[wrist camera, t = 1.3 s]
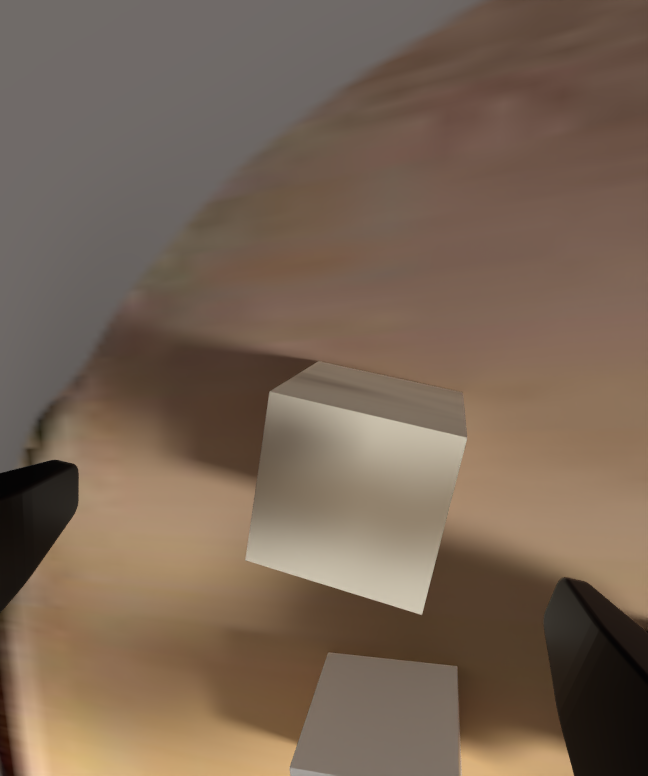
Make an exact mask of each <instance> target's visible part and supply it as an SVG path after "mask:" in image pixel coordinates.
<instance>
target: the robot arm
mask: <svg viewBox="0 0 648 776" xmlns="http://www.w3.org/2000/svg"><path fill="white" fill-rule="evenodd" d="M78 484H79V473H78V468H77V466H76V465H75V464H72V463H68V462H64V461H59V460H51V461H47V462H43V463H39V464H35V465H31V466H27V467H23V468H19V469H15V470H11V471H7V472H3V473H0V613H1V612H2V610H3V609H4V608H5V607H6V606H7V605H8V603H9V602H10V601H11V600H12V599H13V598H14V596H15V595H16V594H17V593H18V592H19V590H20V589H21V588H22V587H23V586H24V584H25V583H26V582H27V581H28V579H29V578H30V577H31V575H32V574H33V573H34V571H35V570H36V568H37V567H38V565H39V564H40V563H41V561H42V560H43V558H44V557H45V555H46V554H47V553H48V551H49V550H50V548H51V547H52V545H53V544H54V543H55V541H56V540H57V538H58V537H59V535H60V534H61V533H62V531H63V530H64V528H65V527H66V525H67V524H68V523H69V521H70V520H71V518H72V517H73V515H74V514H75V512H76V509H77V506H78ZM544 631H545V638H546V644H547V650H548V656H549V663H550V669H551V675H552V681H553V688H554V694H555V700H556V705H557V710H558V715H559V719H560V724H561V728H562V732H563V735H564V739H565V743H566V747H567V750H568V754H569V758H570V762H571V765H572V769H573V773H574V776H648V632H646V631H645V630H644V629H642V628H641V627H640V626H639V625H638V624H636V623H635V622H634V621H633V620H632V619H630V618H629V617H628V616H627V615H626V614H624V613H623V612H622V611H621V610H620V609H618V608H617V607H616V606H615V605H614V604H612V603H611V602H610V601H609V600H608V599H607V598H605V597H604V596H603V595H602V594H601V593H599V592H598V591H597V590H596V589H595V588H593V587H592V586H591V585H590V584H588V583H587V582H584V581H580V580H576V579H571V578H567V577H564V578H561V579H560V580H559V581H558V583H557V585H556V587H555V590H554V592H553V594H552V597H551V599H550V601H549V604H548V606H547V608H546V611H545V614H544Z"/></svg>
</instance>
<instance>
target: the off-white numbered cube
mask: <svg viewBox="0 0 648 776" xmlns="http://www.w3.org/2000/svg"><path fill="white" fill-rule="evenodd" d="M290 775H291V776H462V769H461V744H460V720H459V696H458V672H457V666H452V665H443V664H433V663H424V662H415V661H405V660H396V659H386V658H377V657H367V656H358V655H349V654H339V653H330V652H328V654H327V657H326V660H325V663H324V666H323V669H322V672H321V675H320V678H319V681H318V684H317V687H316V690H315V693H314V696H313V699H312V702H311V705H310V708H309V711H308V714H307V717H306V720H305V723H304V726H303V729H302V732H301V735H300V738H299V741H298V744H297V747H296V750H295V753H294V756H293V759H292V762H291V765H290Z"/></svg>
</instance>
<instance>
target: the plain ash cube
mask: <svg viewBox="0 0 648 776" xmlns="http://www.w3.org/2000/svg"><path fill="white" fill-rule="evenodd" d="M466 441H467V430H466V420H465V409H464V399H463V392H459V391H454V390H450V389H445V388H441V387H436V386H431V385H427V384H422V383H418V382H413V381H408V380H404V379H399V378H395V377H390V376H385V375H381V374H376V373H371V372H367V371H362V370H358V369H353V368H348V367H344V366H339V365H335V364H330V363H325V362H321V361H318V362H316V363H315V364H313V365H312V366H310V367H308V368H307V369H305V370H303V371H302V372H300V373H299V374H297V375H295V376H294V377H292V378H291V379H289V380H287V381H286V382H284V383H282V384H281V385H279V386H278V387H276V388H274V389H273V390H271V391H270V392H269V399H268V406H267V413H266V420H265V427H264V434H263V441H262V448H261V455H260V462H259V469H258V476H257V483H256V490H255V497H254V504H253V511H252V518H251V525H250V532H249V539H248V546H247V553H246V561H250V562H253V563H256V564H259V565H263V566H266V567H269V568H272V569H275V570H279V571H282V572H285V573H288V574H292V575H295V576H298V577H301V578H304V579H308V580H311V581H314V582H317V583H320V584H324V585H327V586H330V587H333V588H337V589H340V590H343V591H346V592H349V593H353V594H356V595H359V596H362V597H366V598H369V599H372V600H375V601H378V602H382V603H385V604H388V605H391V606H394V607H398V608H401V609H404V610H407V611H411V612H414V613H417V614H420V615H422V613H423V609H424V605H425V601H426V597H427V593H428V589H429V585H430V581H431V577H432V574H433V570H434V566H435V562H436V558H437V554H438V550H439V546H440V542H441V538H442V534H443V531H444V527H445V523H446V519H447V515H448V511H449V507H450V503H451V499H452V495H453V492H454V488H455V484H456V480H457V476H458V472H459V468H460V464H461V460H462V456H463V452H464V449H465V445H466Z"/></svg>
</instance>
